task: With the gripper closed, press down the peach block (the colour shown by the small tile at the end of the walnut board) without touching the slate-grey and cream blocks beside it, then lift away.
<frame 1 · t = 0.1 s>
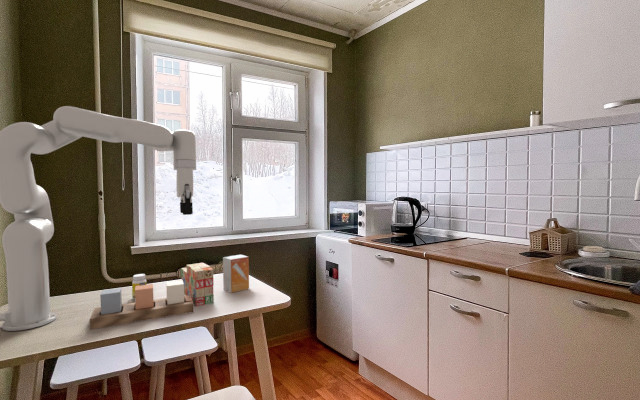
hand: (186, 213, 122), 31 cm above the table, tool pointing down, fingers open, 9 cm apart
button board: (145, 314, 108), on the table
button cream: (175, 292, 112), point 6 cm above the table, slide at 0.0 cm
small box: (236, 289, 135), on the table
stack of blocks: (197, 297, 126), on the table
supplement bottle: (139, 298, 126), on the table
peach block: (144, 296, 108), point 6 cm above the table, slide at 0.0 cm
button slate: (111, 300, 104), point 6 cm above the table, slide at 0.0 cm
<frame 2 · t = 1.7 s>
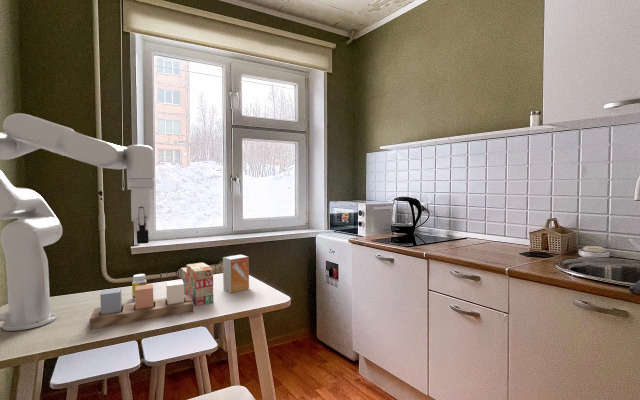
hand: (142, 242, 107), 23 cm above the table, tool pointing down, fingers closed
nothing on the table moved.
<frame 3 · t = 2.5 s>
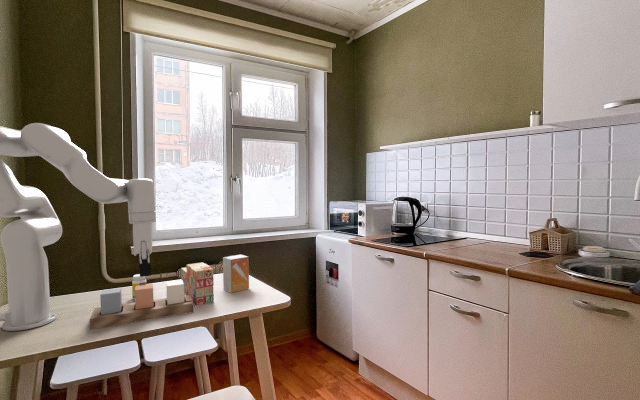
hand: (145, 275, 108), 13 cm above the table, tool pointing down, fingers closed
nothing on the table moved.
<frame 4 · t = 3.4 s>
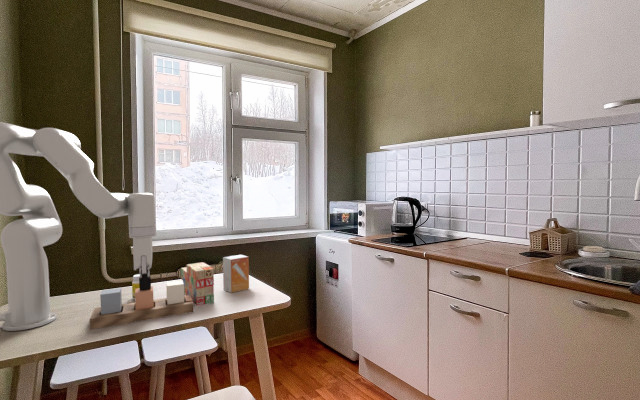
hand: (145, 289, 108), 8 cm above the table, tool pointing down, fingers closed
peach block: (144, 298, 108), point 5 cm above the table, slide at -0.9 cm, touching gripper
everything else where it was.
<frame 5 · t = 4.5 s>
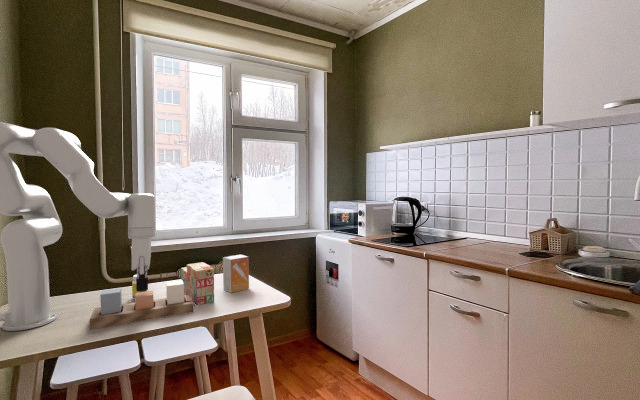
hand: (142, 290, 108), 8 cm above the table, tool pointing down, fingers closed
peach block: (144, 303, 108), point 4 cm above the table, slide at -2.2 cm
everything else where it was.
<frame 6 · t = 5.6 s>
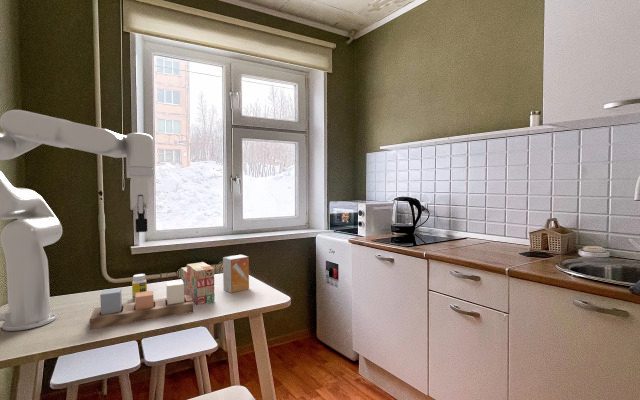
hand: (141, 231, 107), 27 cm above the table, tool pointing down, fingers closed
nothing on the table moved.
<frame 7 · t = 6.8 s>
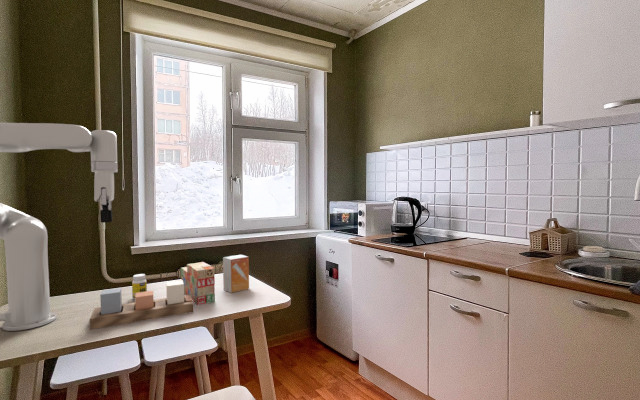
hand: (106, 221, 115), 29 cm above the table, tool pointing down, fingers closed
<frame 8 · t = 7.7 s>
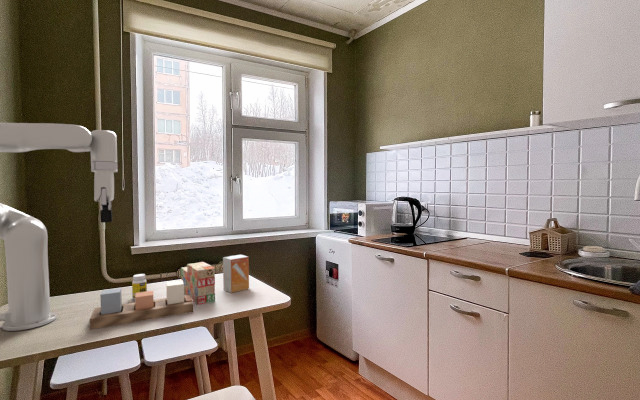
hand: (106, 221, 115), 29 cm above the table, tool pointing down, fingers closed
at the end: peach block slide at -2.2 cm; button slate slide at 0.0 cm; button cream slide at 0.0 cm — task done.
